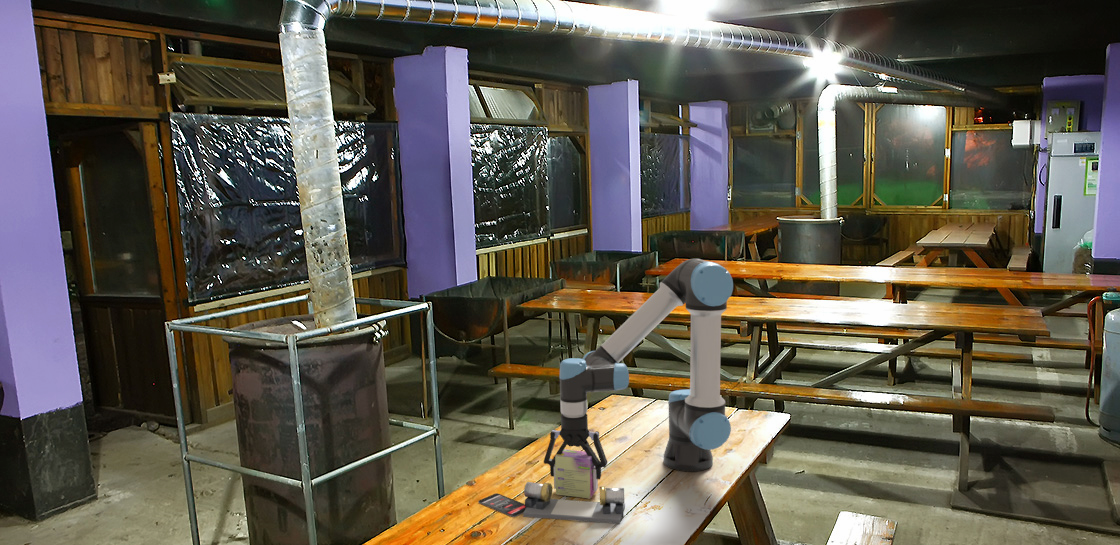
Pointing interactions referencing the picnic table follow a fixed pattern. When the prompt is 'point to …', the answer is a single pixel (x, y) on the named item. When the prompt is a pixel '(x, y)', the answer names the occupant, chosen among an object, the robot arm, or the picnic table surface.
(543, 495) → the shaft
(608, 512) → the shaft
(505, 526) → the picnic table surface
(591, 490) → the box
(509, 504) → the smartphone
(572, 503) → the bed
